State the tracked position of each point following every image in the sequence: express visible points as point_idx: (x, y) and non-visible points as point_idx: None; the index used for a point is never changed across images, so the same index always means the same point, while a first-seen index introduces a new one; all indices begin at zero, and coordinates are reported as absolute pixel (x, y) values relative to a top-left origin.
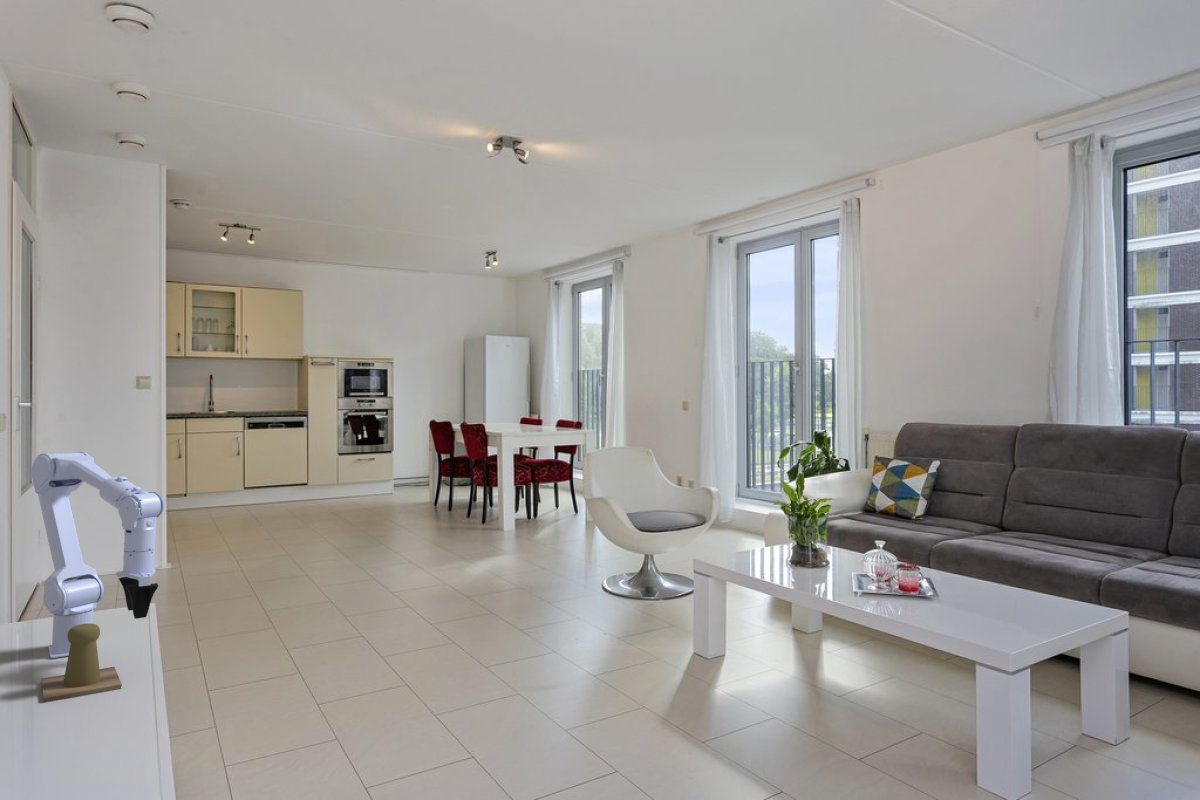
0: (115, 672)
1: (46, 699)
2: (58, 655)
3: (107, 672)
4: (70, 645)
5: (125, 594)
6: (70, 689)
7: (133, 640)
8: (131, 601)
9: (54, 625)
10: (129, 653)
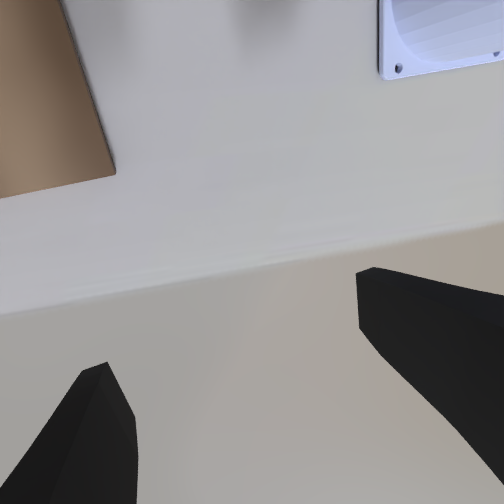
0: (19, 189)
1: None
2: None
3: (29, 156)
4: None
5: (481, 313)
6: None
7: (441, 192)
8: (406, 319)
9: None
10: (313, 198)
